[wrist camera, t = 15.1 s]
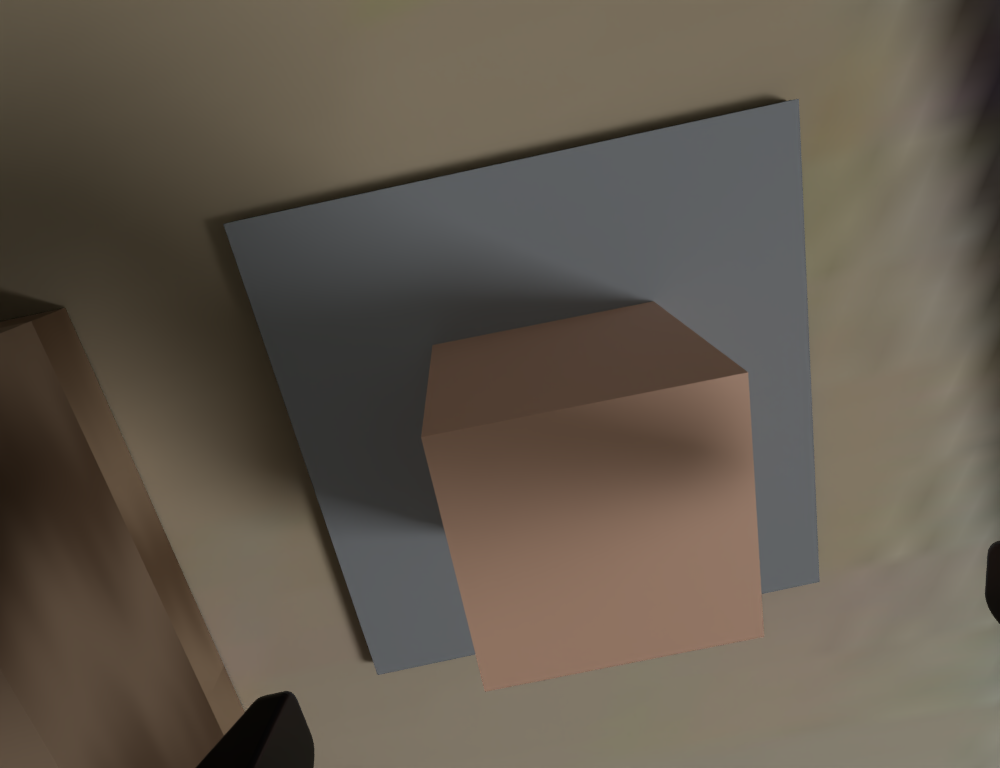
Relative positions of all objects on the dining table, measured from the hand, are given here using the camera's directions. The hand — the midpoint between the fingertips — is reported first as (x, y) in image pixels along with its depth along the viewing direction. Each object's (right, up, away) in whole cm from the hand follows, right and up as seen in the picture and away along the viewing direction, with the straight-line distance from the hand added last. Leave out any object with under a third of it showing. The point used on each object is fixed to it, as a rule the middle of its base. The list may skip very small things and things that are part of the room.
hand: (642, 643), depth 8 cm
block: (0, +2, +7) cm, 7 cm away
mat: (0, +2, +7) cm, 8 cm away
